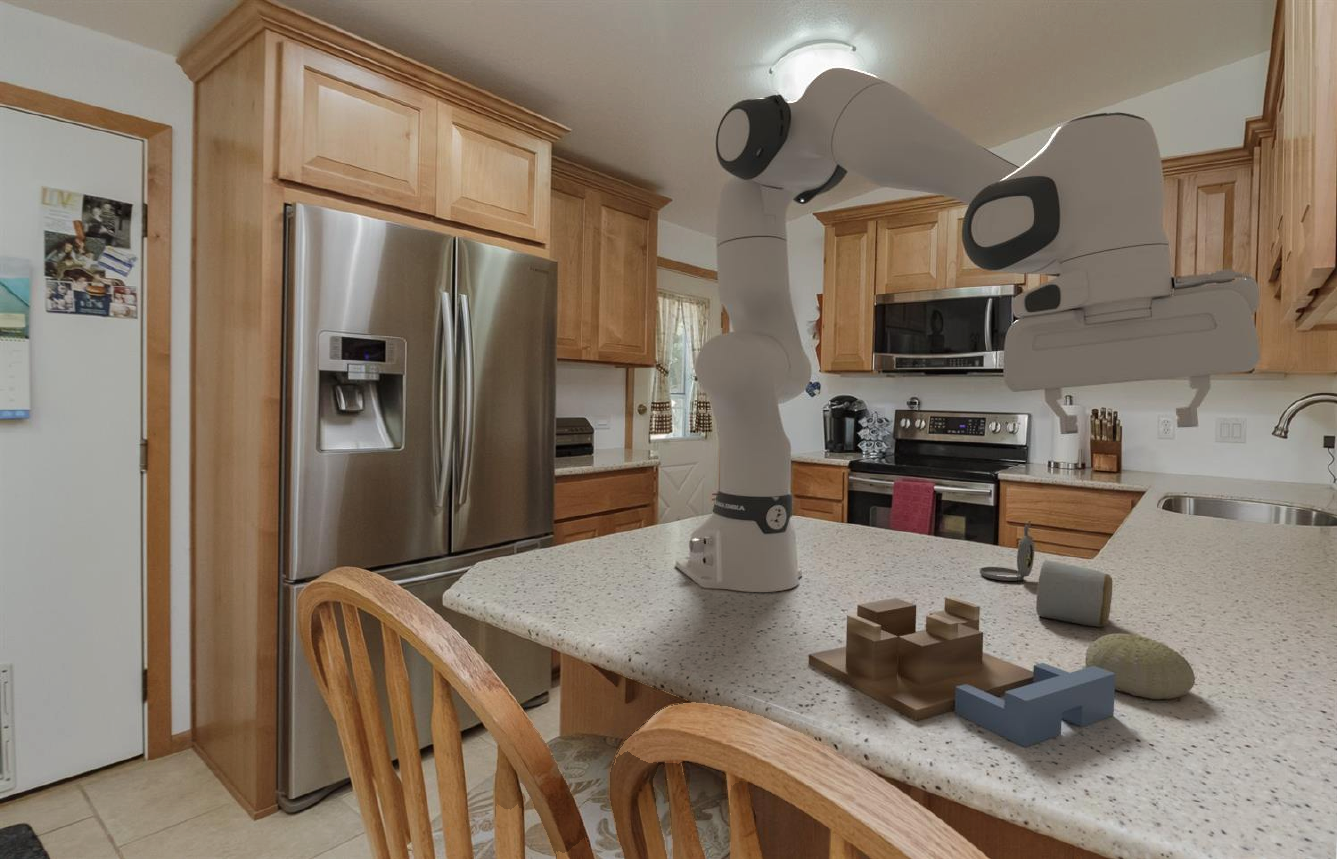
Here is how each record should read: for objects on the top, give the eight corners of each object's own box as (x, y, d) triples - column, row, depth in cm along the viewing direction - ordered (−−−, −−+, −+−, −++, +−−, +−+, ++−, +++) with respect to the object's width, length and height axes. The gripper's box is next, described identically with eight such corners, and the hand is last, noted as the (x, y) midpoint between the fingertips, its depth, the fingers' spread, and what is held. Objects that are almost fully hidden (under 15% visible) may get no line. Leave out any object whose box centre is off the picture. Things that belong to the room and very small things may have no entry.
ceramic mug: (1107, 635, 85) (1110, 574, 85) (1034, 622, 90) (1037, 564, 90) (1112, 615, 94) (1115, 560, 94) (1045, 604, 99) (1047, 551, 99)
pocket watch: (974, 571, 117) (976, 513, 116) (1026, 574, 115) (1028, 515, 115) (989, 584, 108) (992, 522, 108) (1046, 587, 107) (1048, 524, 107)
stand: (808, 663, 75) (809, 603, 75) (924, 637, 84) (925, 584, 83) (916, 720, 62) (918, 649, 62) (1040, 684, 70) (1042, 620, 70)
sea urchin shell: (1166, 695, 64) (1108, 618, 69) (1105, 728, 69) (1055, 653, 74) (1224, 680, 67) (1165, 607, 72) (1162, 712, 73) (1111, 642, 78)
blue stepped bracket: (954, 712, 64) (956, 670, 63) (1041, 686, 70) (1043, 648, 70) (1024, 747, 57) (1026, 700, 57) (1113, 715, 64) (1115, 673, 63)
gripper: (1250, 268, 62) (1261, 419, 63) (1003, 306, 73) (1014, 433, 74) (1263, 260, 57) (1275, 425, 57) (994, 302, 68) (1006, 439, 69)
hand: (1126, 430), depth 66 cm, fingers open, 8 cm apart
